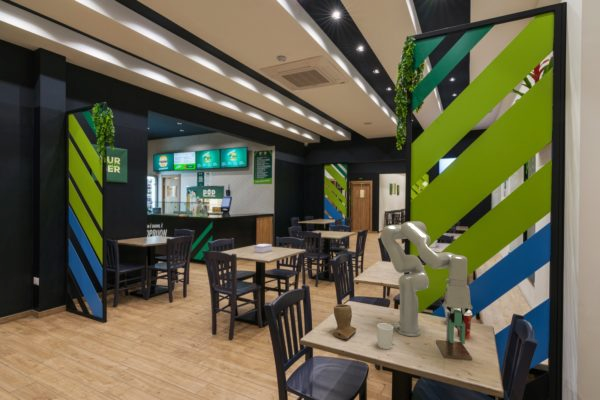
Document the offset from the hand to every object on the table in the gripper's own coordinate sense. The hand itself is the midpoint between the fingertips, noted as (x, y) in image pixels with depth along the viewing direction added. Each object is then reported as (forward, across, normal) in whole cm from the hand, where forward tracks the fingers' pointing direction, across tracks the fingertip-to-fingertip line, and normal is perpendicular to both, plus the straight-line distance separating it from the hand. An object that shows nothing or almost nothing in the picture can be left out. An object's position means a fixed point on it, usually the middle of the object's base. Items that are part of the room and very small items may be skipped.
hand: (456, 321), depth 151 cm
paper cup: (+17, +10, +23) cm, 30 cm away
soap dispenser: (+17, +8, +39) cm, 43 cm away
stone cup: (+17, -53, +13) cm, 57 cm away
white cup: (+17, -32, +3) cm, 36 cm away
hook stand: (+16, 0, +5) cm, 17 cm away
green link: (+10, 0, 0) cm, 10 cm away
